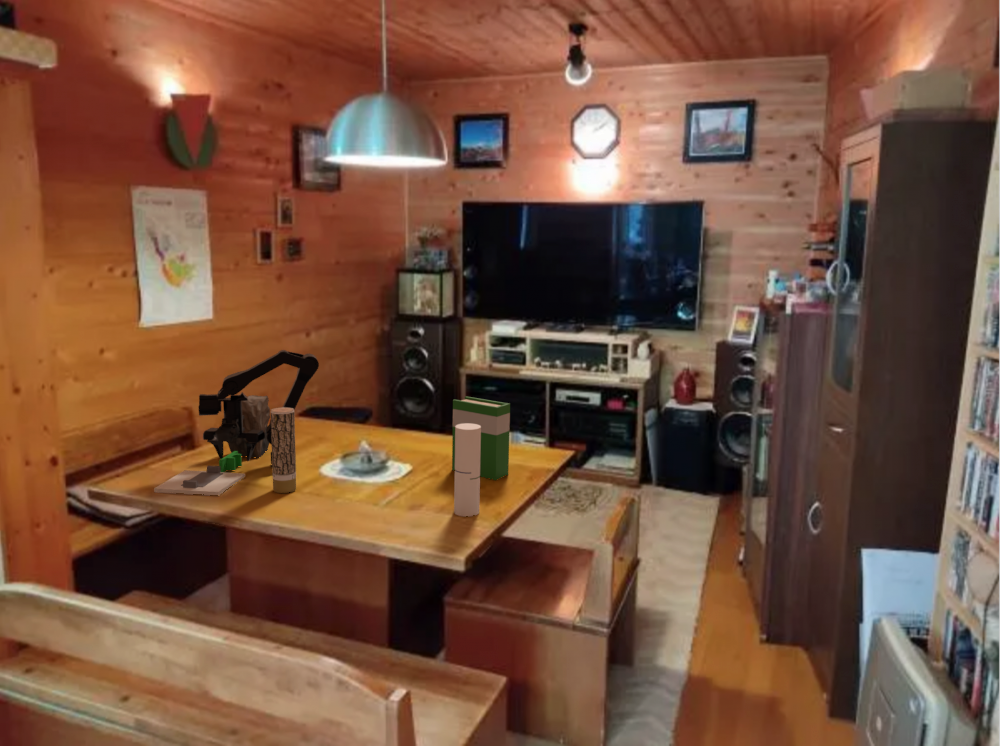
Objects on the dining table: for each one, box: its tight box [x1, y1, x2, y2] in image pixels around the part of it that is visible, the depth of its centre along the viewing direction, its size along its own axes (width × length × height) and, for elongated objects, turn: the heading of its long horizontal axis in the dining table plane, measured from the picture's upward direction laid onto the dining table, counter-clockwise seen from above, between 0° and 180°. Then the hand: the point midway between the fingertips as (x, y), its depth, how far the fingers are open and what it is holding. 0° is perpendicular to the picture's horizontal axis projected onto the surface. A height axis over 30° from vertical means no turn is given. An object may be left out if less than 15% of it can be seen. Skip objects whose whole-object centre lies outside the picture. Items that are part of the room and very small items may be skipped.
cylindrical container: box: [453, 423, 481, 517], centre depth 213 cm, size 7×7×25 cm
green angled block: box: [218, 451, 243, 472], centre depth 250 cm, size 11×4×5 cm, turn 173°
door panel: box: [153, 465, 246, 496], centre depth 233 cm, size 20×18×3 cm
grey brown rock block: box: [226, 394, 271, 459], centre depth 267 cm, size 13×13×20 cm
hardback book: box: [451, 396, 511, 481], centre depth 250 cm, size 18×7×24 cm, turn 56°
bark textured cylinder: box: [270, 406, 297, 494], centre depth 228 cm, size 7×7×25 cm
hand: (235, 460), depth 250 cm, fingers open, 9 cm apart
